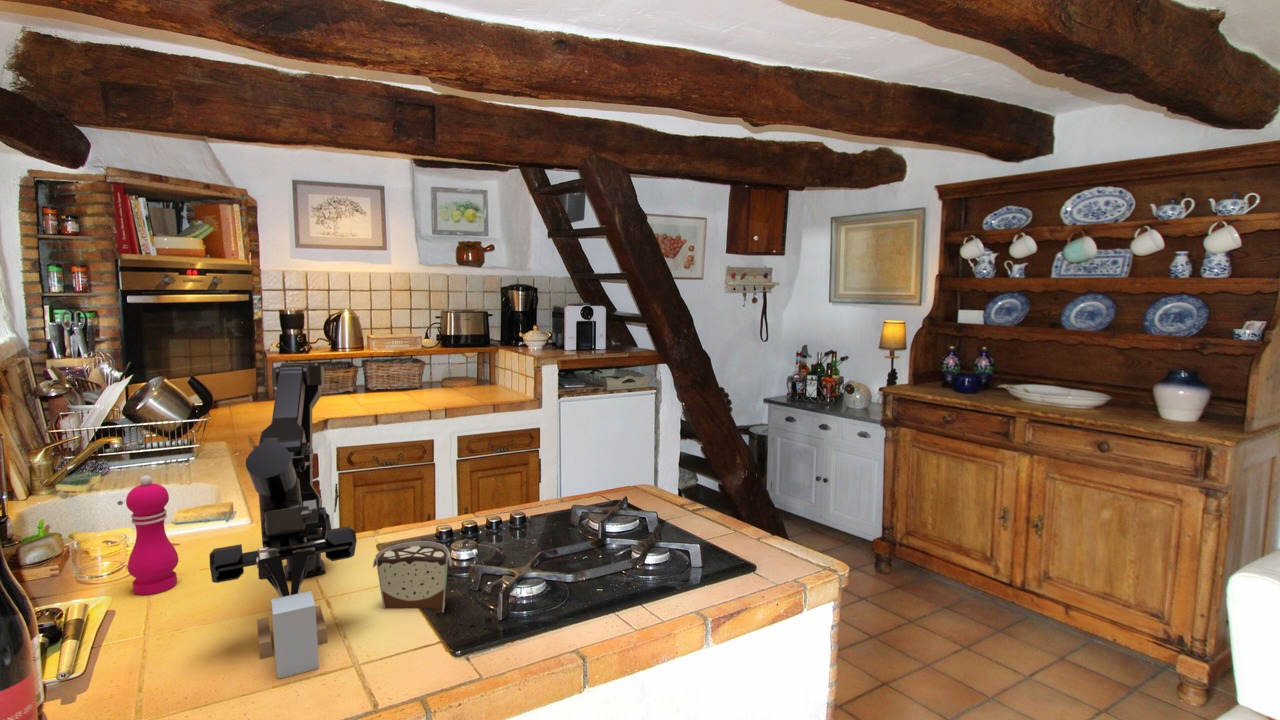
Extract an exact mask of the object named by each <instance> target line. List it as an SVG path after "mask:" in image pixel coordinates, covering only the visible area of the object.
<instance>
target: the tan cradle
mask: <svg viewBox="0 0 1280 720" xmlns="http://www.w3.org/2000/svg"><path fill="white" fill-rule="evenodd" d="M321 607H322V606H321V605H317V606H316V605H315V610H316V626H317V642H318V646H320V645H323V644H327V643H328V632H327V625H326V621H325V618H324V614H323V611H322V608H321ZM269 620H270V619H269V617H268V616H266V617H262V618H258V619H256V626H257V639H258V648H259V649H258V650H259V659H260V660H262V659H267V658H270V657H273V648H272V647H273V645H272V636H271V635H272V634H271V629H270V621H269Z"/></svg>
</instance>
